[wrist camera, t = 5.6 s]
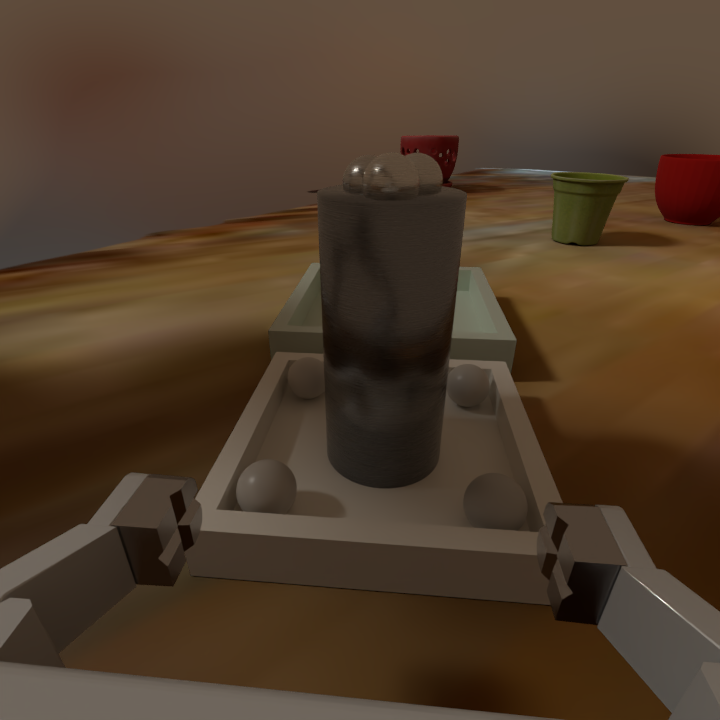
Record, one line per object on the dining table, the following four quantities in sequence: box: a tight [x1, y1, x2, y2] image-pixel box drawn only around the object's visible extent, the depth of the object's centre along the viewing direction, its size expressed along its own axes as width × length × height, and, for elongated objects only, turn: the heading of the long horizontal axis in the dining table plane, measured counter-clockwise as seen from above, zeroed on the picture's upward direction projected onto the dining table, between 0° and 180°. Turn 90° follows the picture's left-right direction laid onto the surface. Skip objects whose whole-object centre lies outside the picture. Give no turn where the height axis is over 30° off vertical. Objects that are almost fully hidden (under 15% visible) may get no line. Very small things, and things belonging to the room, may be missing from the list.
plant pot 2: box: [551, 172, 629, 246], centre depth 63 cm, size 9×9×9 cm
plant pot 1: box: [401, 136, 459, 187], centre depth 107 cm, size 13×13×12 cm
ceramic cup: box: [655, 154, 720, 225], centre depth 74 cm, size 13×17×10 cm
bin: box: [268, 263, 517, 374], centre depth 37 cm, size 16×16×3 cm
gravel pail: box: [317, 153, 467, 489], centre depth 20 cm, size 6×6×13 cm
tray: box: [185, 352, 563, 605], centre depth 22 cm, size 14×14×3 cm
